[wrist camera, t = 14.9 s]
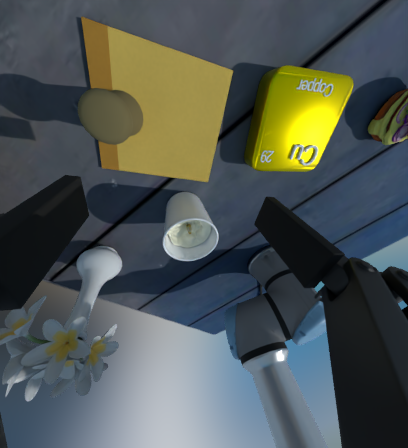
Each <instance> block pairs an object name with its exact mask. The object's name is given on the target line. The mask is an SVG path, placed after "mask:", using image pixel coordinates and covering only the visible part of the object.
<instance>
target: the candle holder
mask: <svg viewBox="0 0 408 448" xmlns="http://www.w3.org/2000/svg"><path fill="white" fill-rule="evenodd" d="M217 243H218V231H217V229H216V227H215V226H214V224H213V222H212V221H211V219H210V217H209V215H208V213H207V211H206V209H205V207H204V205H203V204H202V202H201V200H200V199H199V198H198V197H197V196H196V195H195V194H193V193H190V192H180V193H177V194H175V195H174V196H172V197H171V198H170V199H169V201H168V203H167V206H166V215H165V226H164V236H163V247H164V250H165V251H166V253H167V254H168V255H169V256H171V257H172V258H174V259H177V260H181V261H194V260H198V259H201V258H203V257H205V256H207V255H208V254H209V253H211V252H212V251H213V250H214V248H215V247H216V245H217Z"/></svg>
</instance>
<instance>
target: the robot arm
mask: <svg viewBox="0 0 408 448" xmlns="http://www.w3.org/2000/svg"><path fill="white" fill-rule="evenodd" d="M88 216H89V212H88V208H87V204H86V199H85V195H84V191H83V186H82V182H81V177H78V176H69V175H65V176H63V177H62V178H60V179H59V180H57V181H55V182H54V183H52V184H51V185H49V186H48V187H46V188H45V189H43V190H41V191H40V192H38V193H37V194H35V195H34V196H32V197H31V198H29V199H27V200H26V201H24V202H23V203H21V204H20V205H18V206H17V207H15V208H13V209H12V210H10V211H9V212H7V213H6V214H0V310H15V309H21V308H22V307H23V305H24V304H25V303H26V301H27V300H28V298H29V297H30V296H31V294H32V293H33V292H34V290H35V289H36V287H37V286H38V285H39V283H40V282H41V281H42V279H43V278H44V276H45V275H46V274H47V272H48V271H49V270H50V268H51V267H52V266H53V264H54V263H55V261H56V260H57V259H58V257H59V256H60V255H61V253H62V252H63V250H64V249H65V248H66V246H67V245H68V244H69V242H70V241H71V240H72V238H73V237H74V235H75V234H76V233H77V231H78V230H79V229H80V227H81V226H82V224H83V223H84V222H85V220H86V219H87V218H88ZM255 226H256V227H257V228H258V230H259V231H260V232H261V233H262V235H263V236H264V237H265V239H266V240H267V241H268V242H269V244H270V246H267V247H264V248H262V249H261V250H259V251H258V252H256V253H255V254H254V255H253V256H252V257H251V259H250V260H249V262H248V270H249V272H250V274H251V275H252V276H253V277H254V278H256V279H257V281H258V282H259V283H260V295H259V296H257V297H254V298H252V299H249V300H247V301H244V302H241V303H237V304H236V305H235V306H232V307H230V308H228V309H227V310H226V312H225V329H226V334H227V339H228V343H229V345H230V349H231V353H232V355H233V357H234V358H235V359H238V360H241V363H242V366H243V368H245V369H246V370H247V371H249V372H250V373H251V374H252V376H253V379H254V382H255V385H256V388H257V391H258V394H259V397H260V400H261V403H262V406H263V409H264V411H265V415H266V418H267V420H268V424H269V427H270V429H271V433H272V436H273V438H274V441H275V444H276V447H277V448H328V447H327V445H326V443H325V441H324V438H323V436H322V435H321V432H320V430H319V428H318V426H317V424H316V422H315V420H314V417H313V415H312V413H311V411H310V409H309V407H308V405H307V403H306V401H305V399H304V397H303V395H302V392H301V391H300V388H299V386H298V384H297V382H296V380H295V378H294V376H293V374H292V372H291V369H290V367H289V365H288V363H287V356H288V349H287V347H286V345H285V343H284V342H285V341H287V340H290V339H292V340H293V342H294V343H295V344H297V345H302V344H306V343H308V342H310V341H312V340H314V339H315V338H317V337H318V336H320V335H321V334H323V333H324V332H325V331H327V337H328V344H329V352H330V360H331V367H332V374H333V383H334V390H335V398H336V405H337V413H338V420H339V428H340V436H341V444H342V448H408V306H407V307H406V308H404V309H402V310H401V308H400V307H399V305H398V303H399V302H401V301H402V300H403V301H404V302H405V303H406V304H407V305H408V272H407V271H404V270H403V269H399V268H396V267H392V266H391V267H388V268H387V269H386V270H385V271H383V272H378V270H377V269H376V268H375V267H373V266H372V265H370V264H369V263H367V262H365V261H363V260H361V259H358V258H353V257H352V258H350V259H348V258H347V257H345V256H344V255H345V254H344V253H343V252H342V251H340V250H339V249H338V248H337V247H335V246H334V245H333V244H332V243H330V242H329V241H328V240H327V239H325V238H324V237H323V236H322V235H320V234H319V233H318V232H317V231H315V230H314V229H313V228H312V227H310V226H309V225H308V224H307V223H305V222H304V221H303V220H302V219H300V218H299V217H298V216H297V215H295V214H294V213H293V212H292V211H290V210H289V209H288V208H287V207H285V206H284V205H283V204H282V203H280V202H279V201H278V200H277V199H275V198H274V197H266V198H265V200H264V203H263V205H262V207H261V210H260V212H259V214H258V217H257V219H256V221H255ZM320 281H322V282H323V283H324V284H325V285H324V286H323V287H322V288H321V290H319V291H318V293H317V292H316V291H315V289H314V288H315V287H316V286H317V285H318V283H319V282H320ZM262 286H263V287H264V288H265V290H266V292H267V293H264V294H262ZM320 296H322V298H321V297H320ZM0 448H8V447H7V442H6V438H5V433H4V428H3V424H2V419H1V414H0Z"/></svg>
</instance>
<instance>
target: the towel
mask: <svg viewBox="0 0 408 448" xmlns="http://www.w3.org/2000/svg"><path fill="white" fill-rule="evenodd" d="M81 19H82V27H83V34H84V41H85V48H86V56H87V63H88V70H89V77H90V84H91V89H93V88H101V89H106V90H108V91H113V90H121V91H124V92H126V93H128V94H130V95H131V96H132V97H133V98H135V99H136V101H137V102H138V104H139V105H140V107H141V110H142V112H143V126H142V128H141V130H140V131H139V132H138V133H137V134H136V135H133V136H130V137H129V138H128V139H127V140H125V141H124V142H123V143H120V144H117V145H113V144H106V143H103V142H100V141H98V142H99V149H100V157H101V164H102V168H106V169H113V170H121V171H128V172H136V173H143V174H151V175H158V176H166V177H173V178H181V179H188V180H196V181H203V182H208V179H209V175H210V170H211V166H212V162H213V157H214V153H215V148H216V144H217V140H218V135H219V131H220V127H221V122H222V118H223V113H224V109H225V105H226V100H227V96H228V92H229V87H230V83H231V78H232V74H233V70H230V69H227V68H225V67H222V66H219V65H216V64H213V63H210V62H208V61H205V60H202V59H199V58H196V57H194V56H191V55H188V54H185V53H182V52H179V51H177V50H174V49H171V48H168V47H165V46H163V45H160V44H157V43H154V42H151V41H148V40H146V39H143V38H140V37H137V36H134V35H132V34H129V33H126V32H123V31H120V30H117V29H115V28H112V27H109V26H106V25H104V24H101V23H98V22H95V21H92V20H90V19H87V18H84V17H81Z"/></svg>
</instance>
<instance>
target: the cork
mask: <svg viewBox="0 0 408 448" xmlns="http://www.w3.org/2000/svg"><path fill="white" fill-rule="evenodd" d="M78 115H79V118H80V121H81V123H82V125H83V126H84V128H85V130H86V131H87V132H88V133H89V134H90V135H91V136H92V137H94V138H95V139H97V140H98V141H100V142H103V143H106V144H113V145H117V144H120V143H123V142H124V141H125V140H127V139H128V138H129V137H130V136H133V135H136V134H137V133H138V132H139V131H140V130H141V128H142V126H143V112H142V110H141V107H140V105H139V104H138V102H137V101H136V99H135V98H133V97H132V96H131V95H130V94H128V93H126V92H124V91H121V90H113V91H108V90H106V89H101V88H93V89H90V90H87V91H86V92H85V93H84V94H83V95H82V96H81V97H80V100H79V102H78Z"/></svg>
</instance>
